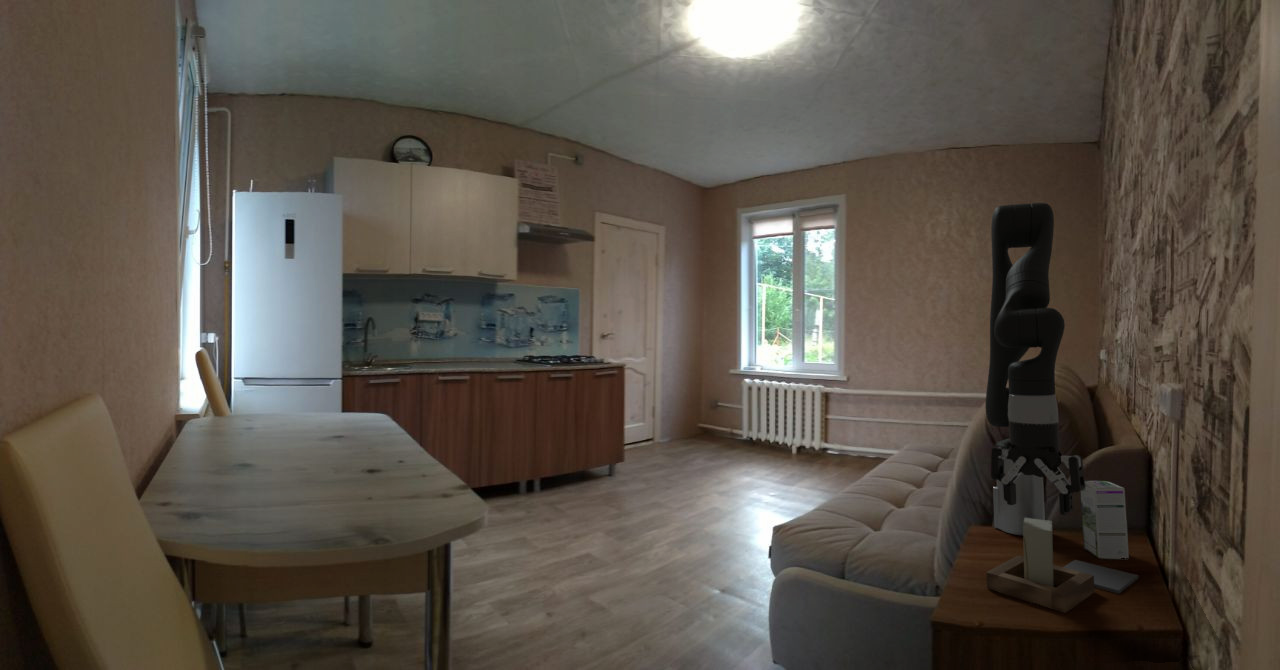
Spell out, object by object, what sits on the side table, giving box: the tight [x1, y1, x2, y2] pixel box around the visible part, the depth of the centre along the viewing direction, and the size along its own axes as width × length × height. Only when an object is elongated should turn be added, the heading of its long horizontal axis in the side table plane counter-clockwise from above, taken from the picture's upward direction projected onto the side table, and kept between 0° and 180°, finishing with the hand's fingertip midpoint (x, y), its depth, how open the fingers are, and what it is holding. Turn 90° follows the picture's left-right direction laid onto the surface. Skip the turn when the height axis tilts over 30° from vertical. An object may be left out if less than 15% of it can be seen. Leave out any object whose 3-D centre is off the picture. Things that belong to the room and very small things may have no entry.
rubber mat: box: [1063, 559, 1139, 595], centre depth 111 cm, size 10×10×1 cm
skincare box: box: [1022, 517, 1055, 587], centre depth 106 cm, size 6×4×12 cm
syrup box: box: [1080, 480, 1130, 560], centre depth 121 cm, size 6×6×14 cm
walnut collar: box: [985, 555, 1095, 614], centre depth 106 cm, size 12×12×3 cm
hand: (1037, 509), depth 106 cm, fingers open, 8 cm apart
